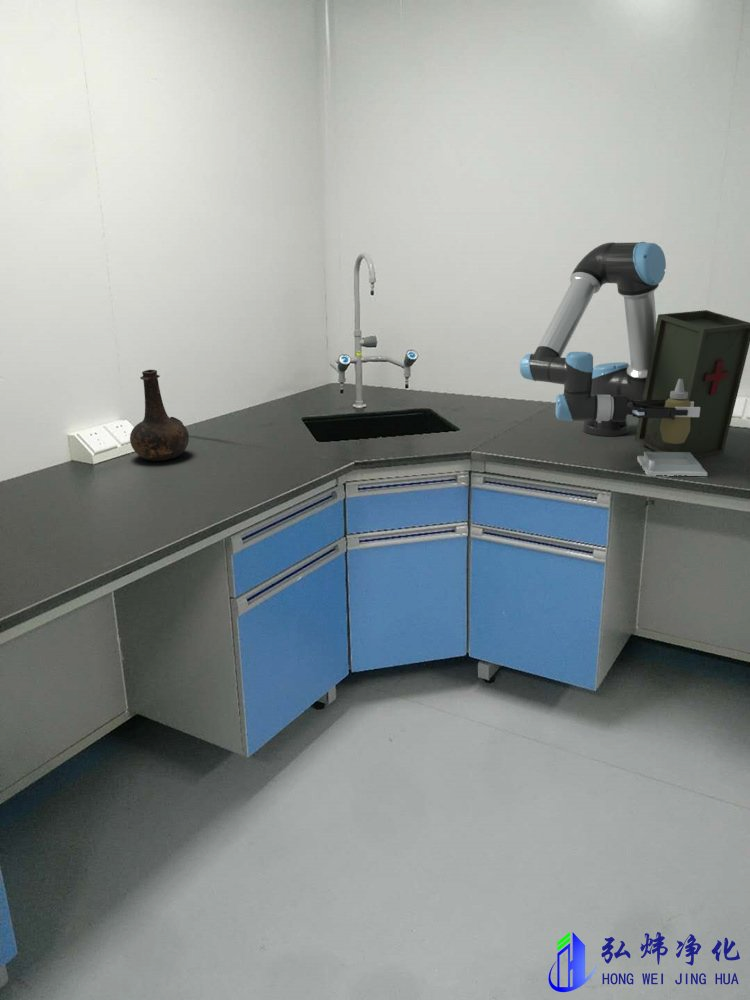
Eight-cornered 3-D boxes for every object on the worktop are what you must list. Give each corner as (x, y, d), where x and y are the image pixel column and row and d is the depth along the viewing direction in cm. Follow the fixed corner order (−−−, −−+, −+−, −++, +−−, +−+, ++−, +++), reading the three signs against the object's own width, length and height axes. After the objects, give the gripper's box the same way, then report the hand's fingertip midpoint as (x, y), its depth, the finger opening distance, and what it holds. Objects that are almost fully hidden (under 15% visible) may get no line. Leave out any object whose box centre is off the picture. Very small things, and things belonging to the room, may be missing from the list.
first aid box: (675, 462, 226) (704, 329, 208) (634, 440, 241) (658, 314, 223) (723, 453, 232) (754, 323, 214) (680, 432, 247) (706, 310, 229)
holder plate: (637, 459, 227) (638, 446, 226) (693, 460, 225) (694, 447, 223) (647, 475, 212) (648, 461, 211) (706, 477, 210) (708, 462, 209)
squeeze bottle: (693, 441, 216) (701, 378, 210) (681, 447, 210) (689, 382, 204) (665, 436, 221) (672, 375, 215) (653, 442, 216) (660, 379, 210)
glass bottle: (201, 455, 242) (192, 368, 233) (153, 469, 230) (141, 377, 221) (169, 446, 254) (159, 363, 244) (122, 459, 241) (109, 371, 232)
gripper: (605, 413, 226) (686, 414, 222) (615, 429, 208) (703, 430, 204) (607, 388, 223) (689, 389, 220) (617, 402, 205) (706, 403, 202)
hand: (696, 409), depth 212 cm, fingers closed on squeeze bottle, 6 cm apart
